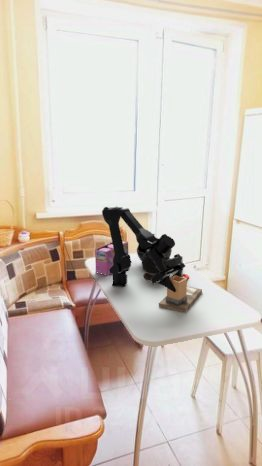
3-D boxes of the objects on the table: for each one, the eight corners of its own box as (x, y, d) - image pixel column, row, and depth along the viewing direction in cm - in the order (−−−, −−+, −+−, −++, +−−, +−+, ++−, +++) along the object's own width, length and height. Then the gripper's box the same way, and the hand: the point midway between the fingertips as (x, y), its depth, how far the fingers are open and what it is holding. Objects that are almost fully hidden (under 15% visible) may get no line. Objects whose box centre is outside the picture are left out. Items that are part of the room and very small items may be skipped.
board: (185, 312, 137) (185, 309, 136) (158, 306, 142) (158, 302, 142) (201, 292, 156) (202, 288, 156) (177, 287, 162) (177, 284, 162)
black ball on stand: (169, 281, 170) (170, 253, 166) (144, 283, 167) (145, 254, 164) (162, 272, 182) (162, 245, 179) (138, 273, 180) (139, 247, 176)
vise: (165, 301, 143) (166, 287, 142) (178, 294, 150) (178, 281, 149) (178, 306, 139) (179, 292, 138) (190, 298, 146) (191, 285, 145)
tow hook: (173, 274, 180) (172, 280, 171) (173, 251, 177) (173, 256, 168) (188, 275, 178) (189, 281, 169) (189, 252, 176) (190, 257, 167)
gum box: (118, 260, 201) (118, 239, 198) (130, 263, 197) (130, 241, 194) (95, 273, 181) (94, 249, 178) (107, 275, 177) (106, 251, 174)
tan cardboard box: (166, 296, 143) (167, 279, 141) (174, 292, 147) (175, 275, 145) (178, 300, 139) (179, 282, 137) (186, 295, 143) (187, 278, 141)
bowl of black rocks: (132, 261, 199) (132, 231, 194) (163, 258, 205) (163, 229, 200) (143, 273, 180) (143, 240, 176) (176, 269, 186) (178, 237, 181)
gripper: (157, 254, 134) (179, 287, 129) (182, 244, 147) (203, 274, 143) (141, 268, 141) (162, 299, 137) (167, 257, 154) (186, 286, 150)
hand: (179, 289), depth 141 cm, fingers closed on tan cardboard box, 6 cm apart
